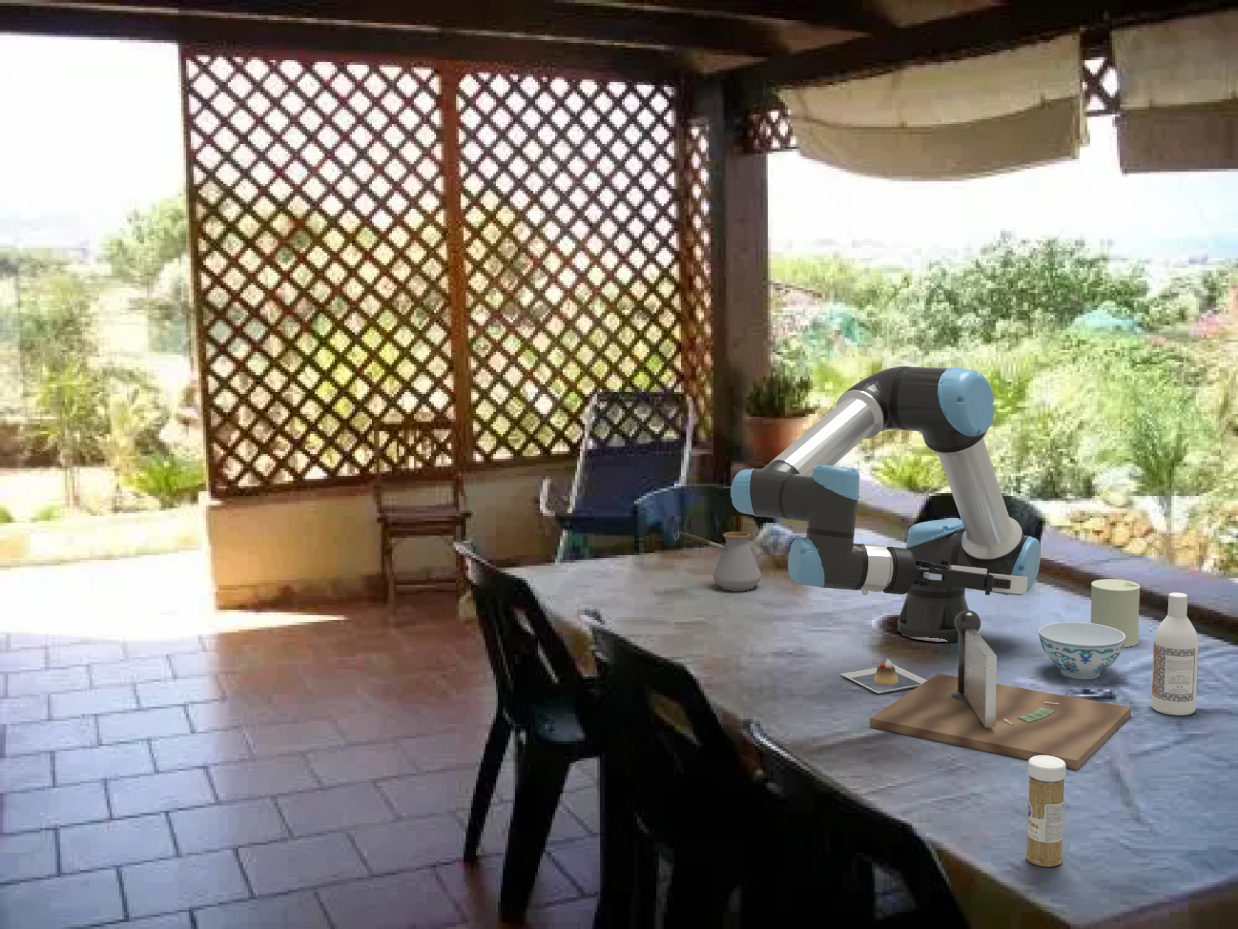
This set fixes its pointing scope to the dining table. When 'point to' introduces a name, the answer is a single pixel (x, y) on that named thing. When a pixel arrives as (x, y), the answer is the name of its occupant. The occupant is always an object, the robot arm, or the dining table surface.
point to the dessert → (885, 676)
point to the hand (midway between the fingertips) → (1005, 581)
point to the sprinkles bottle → (1045, 810)
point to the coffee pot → (733, 562)
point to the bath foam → (1175, 661)
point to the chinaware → (1081, 647)
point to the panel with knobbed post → (976, 667)
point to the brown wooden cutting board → (1005, 721)
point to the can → (1116, 607)
